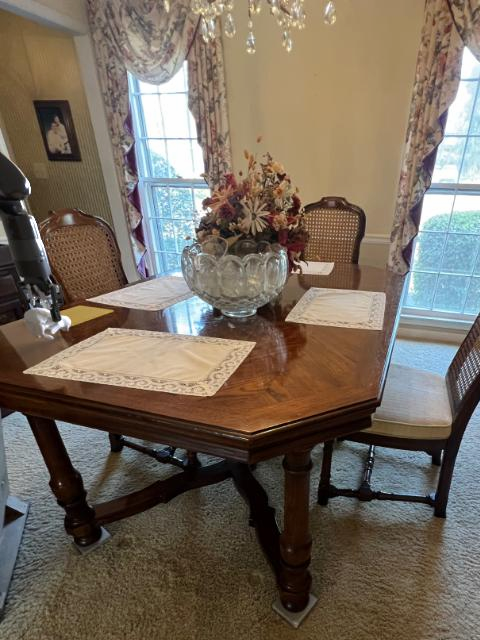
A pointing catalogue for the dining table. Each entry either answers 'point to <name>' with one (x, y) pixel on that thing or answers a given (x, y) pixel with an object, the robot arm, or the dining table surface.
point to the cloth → (83, 314)
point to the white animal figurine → (44, 323)
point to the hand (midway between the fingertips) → (49, 319)
